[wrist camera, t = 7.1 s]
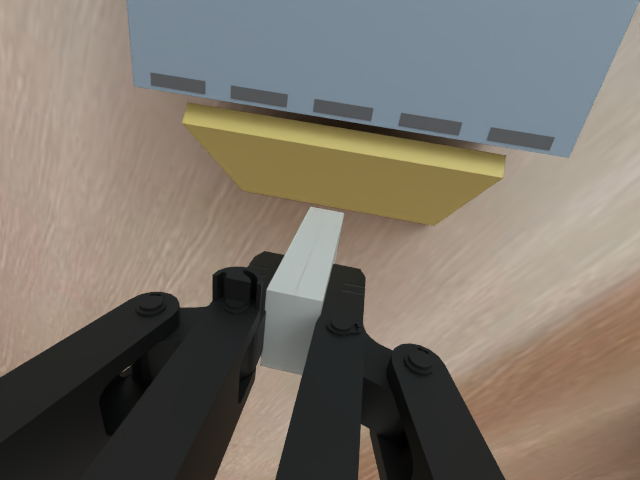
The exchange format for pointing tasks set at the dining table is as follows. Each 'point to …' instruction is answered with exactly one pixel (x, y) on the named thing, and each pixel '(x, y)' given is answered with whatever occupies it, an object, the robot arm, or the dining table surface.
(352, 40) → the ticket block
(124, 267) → the dining table surface
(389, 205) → the yellow rectangular panel
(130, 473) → the robot arm
